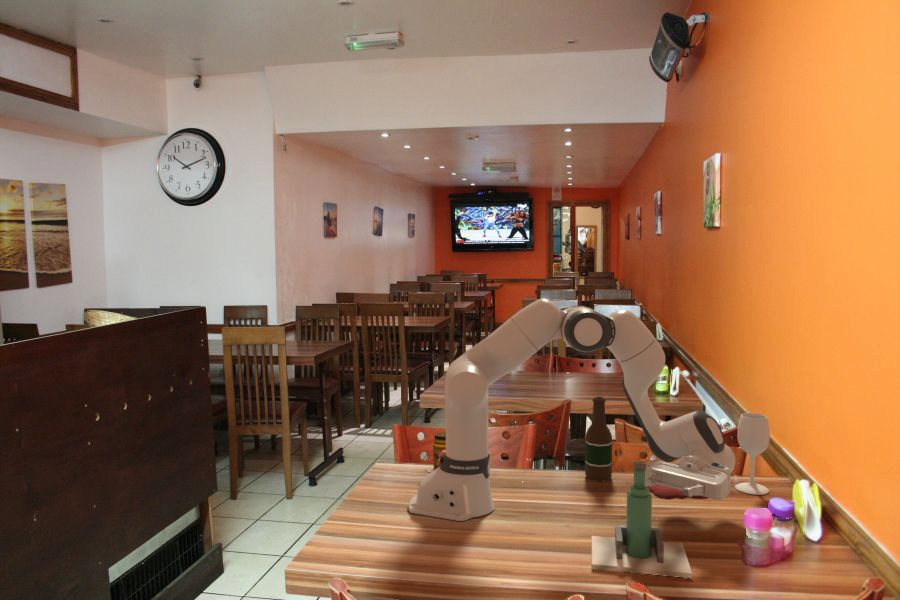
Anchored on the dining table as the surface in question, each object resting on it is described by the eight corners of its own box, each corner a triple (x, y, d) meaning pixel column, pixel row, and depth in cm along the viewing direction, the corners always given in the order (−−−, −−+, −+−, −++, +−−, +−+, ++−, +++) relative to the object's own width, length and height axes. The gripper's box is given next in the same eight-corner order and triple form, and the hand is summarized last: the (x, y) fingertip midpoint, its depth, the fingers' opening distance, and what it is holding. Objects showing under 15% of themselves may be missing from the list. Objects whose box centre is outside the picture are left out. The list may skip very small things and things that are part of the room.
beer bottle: (612, 482, 189) (613, 401, 187) (585, 481, 190) (585, 400, 189) (611, 473, 196) (612, 395, 195) (585, 472, 198) (585, 394, 196)
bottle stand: (591, 569, 137) (591, 545, 137) (591, 540, 151) (591, 519, 150) (691, 578, 133) (692, 554, 133) (682, 548, 147) (682, 526, 146)
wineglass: (730, 484, 187) (731, 412, 185) (760, 484, 187) (762, 412, 185) (742, 495, 178) (744, 419, 177) (774, 495, 178) (777, 419, 176)
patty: (654, 500, 176) (654, 493, 176) (640, 482, 190) (641, 475, 190) (719, 500, 176) (719, 493, 176) (701, 482, 190) (701, 476, 189)
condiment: (440, 478, 194) (439, 438, 193) (424, 470, 200) (424, 432, 200) (460, 473, 198) (459, 434, 197) (444, 466, 205) (443, 428, 204)
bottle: (626, 557, 140) (627, 466, 138) (625, 546, 145) (626, 459, 143) (651, 559, 139) (653, 468, 137) (649, 548, 144) (651, 460, 142)
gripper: (655, 451, 166) (627, 463, 156) (736, 469, 151) (710, 485, 142) (655, 475, 166) (626, 489, 157) (736, 496, 152) (709, 513, 142)
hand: (667, 487), depth 149 cm, fingers open, 8 cm apart
